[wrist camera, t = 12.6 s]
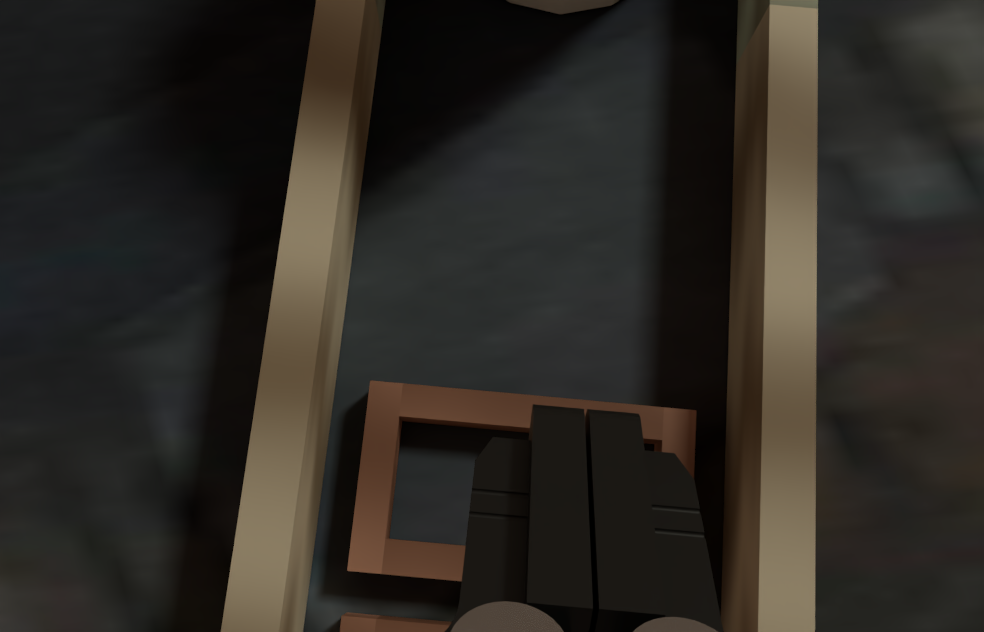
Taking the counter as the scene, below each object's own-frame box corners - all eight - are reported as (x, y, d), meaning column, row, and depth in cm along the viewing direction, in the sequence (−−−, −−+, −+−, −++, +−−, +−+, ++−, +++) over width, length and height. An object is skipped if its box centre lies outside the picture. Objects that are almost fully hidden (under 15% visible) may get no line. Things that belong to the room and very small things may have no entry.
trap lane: (765, 916, 21) (813, 978, 18) (218, 867, 21) (177, 920, 18) (784, -259, 28) (819, -350, 26) (385, -294, 28) (375, -390, 26)
